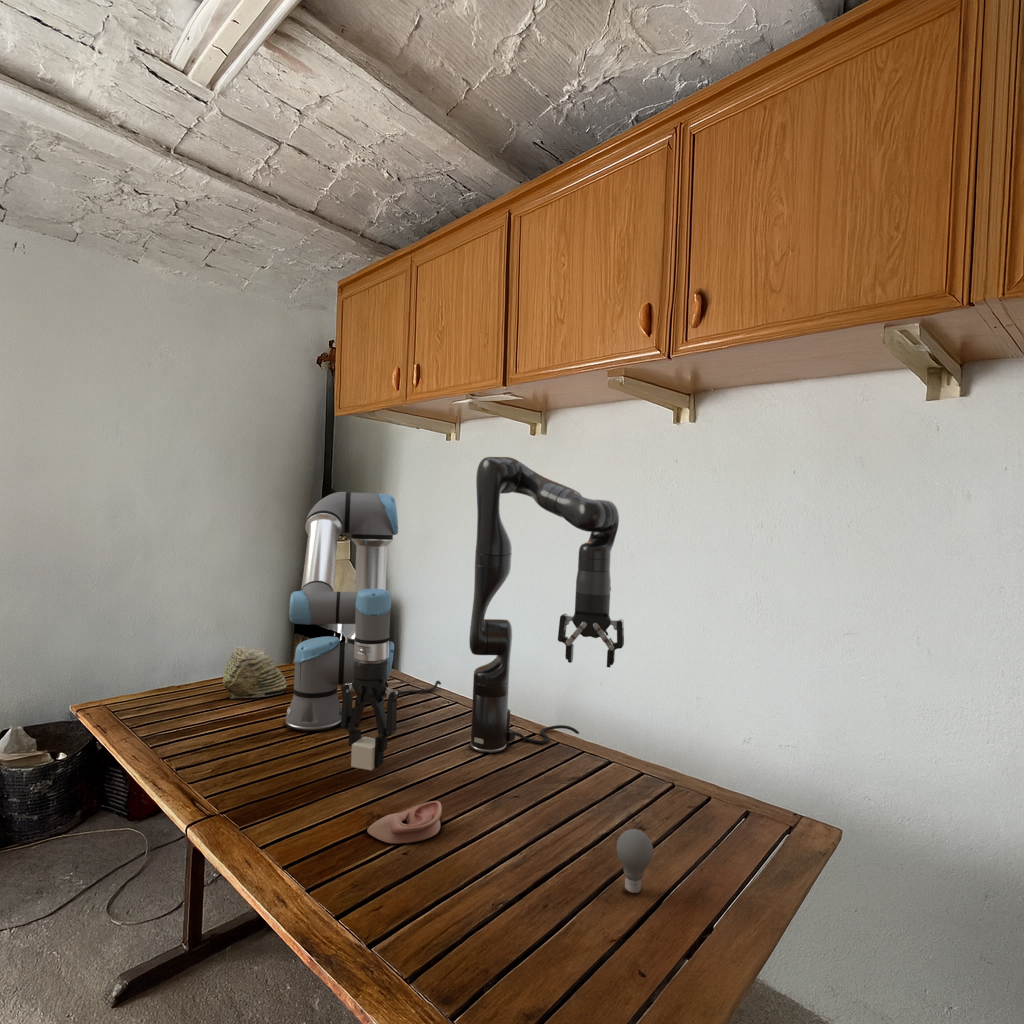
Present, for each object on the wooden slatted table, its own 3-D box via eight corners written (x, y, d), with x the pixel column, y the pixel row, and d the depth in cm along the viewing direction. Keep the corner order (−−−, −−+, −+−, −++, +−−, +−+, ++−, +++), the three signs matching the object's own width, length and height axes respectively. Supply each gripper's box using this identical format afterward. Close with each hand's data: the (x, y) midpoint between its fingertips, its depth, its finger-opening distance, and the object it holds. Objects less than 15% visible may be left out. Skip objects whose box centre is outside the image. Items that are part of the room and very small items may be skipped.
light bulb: (610, 879, 108) (613, 822, 108) (644, 879, 109) (647, 822, 109) (619, 902, 102) (622, 840, 102) (655, 901, 103) (658, 840, 103)
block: (350, 766, 140) (351, 744, 139) (362, 757, 144) (363, 736, 144) (371, 770, 138) (372, 748, 138) (382, 761, 143) (383, 739, 143)
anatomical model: (360, 817, 118) (385, 790, 129) (359, 839, 118) (384, 809, 129) (428, 828, 115) (447, 799, 126) (427, 850, 115) (446, 819, 126)
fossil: (218, 695, 195) (220, 647, 195) (278, 685, 208) (279, 640, 207) (228, 703, 189) (230, 653, 188) (289, 692, 201) (290, 645, 201)
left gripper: (326, 658, 140) (322, 762, 140) (400, 668, 134) (395, 776, 135) (344, 651, 147) (340, 750, 147) (415, 660, 142) (411, 763, 142)
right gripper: (557, 590, 137) (554, 664, 137) (623, 595, 133) (620, 672, 133) (564, 586, 144) (561, 656, 144) (627, 591, 140) (624, 664, 140)
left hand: (367, 762), depth 141 cm, fingers closed on block, 5 cm apart
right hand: (589, 664), depth 139 cm, fingers open, 8 cm apart
